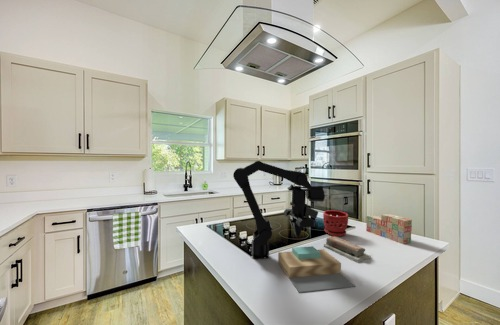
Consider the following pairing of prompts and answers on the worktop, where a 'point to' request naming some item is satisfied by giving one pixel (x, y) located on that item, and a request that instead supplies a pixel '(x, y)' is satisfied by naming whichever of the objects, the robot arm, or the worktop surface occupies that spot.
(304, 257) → the teal rectangular block
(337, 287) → the mat
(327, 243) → the packaged product
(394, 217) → the stack of blocks
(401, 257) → the worktop surface
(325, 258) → the board
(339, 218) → the plant pot
